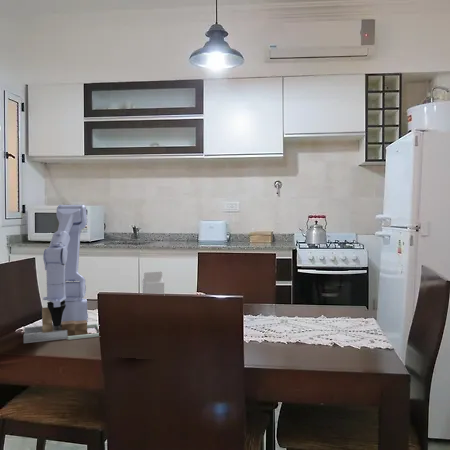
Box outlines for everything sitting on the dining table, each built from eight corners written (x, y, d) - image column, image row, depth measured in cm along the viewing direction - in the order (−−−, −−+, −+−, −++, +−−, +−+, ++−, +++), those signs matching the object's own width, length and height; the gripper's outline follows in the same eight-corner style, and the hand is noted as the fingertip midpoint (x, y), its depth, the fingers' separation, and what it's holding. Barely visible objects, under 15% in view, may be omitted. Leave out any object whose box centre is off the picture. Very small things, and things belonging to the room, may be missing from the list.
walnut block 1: (74, 332, 155) (73, 320, 155) (74, 335, 151) (74, 323, 151) (61, 333, 154) (61, 321, 153) (62, 336, 150) (61, 324, 150)
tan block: (61, 331, 154) (60, 305, 154) (62, 336, 149) (61, 308, 149) (42, 333, 152) (42, 307, 152) (42, 338, 147) (42, 310, 147)
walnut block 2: (86, 331, 157) (86, 320, 156) (87, 334, 153) (87, 322, 153) (74, 332, 155) (73, 321, 155) (74, 336, 151) (74, 324, 151)
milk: (143, 337, 152) (142, 271, 151) (161, 335, 154) (160, 270, 153) (146, 342, 146) (145, 273, 145) (165, 340, 148) (164, 272, 147)
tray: (98, 328, 163) (98, 323, 162) (103, 338, 150) (102, 333, 150) (65, 331, 158) (65, 326, 158) (67, 342, 146) (67, 337, 146)
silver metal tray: (65, 332, 157) (65, 323, 157) (67, 340, 148) (67, 330, 148) (24, 336, 152) (24, 327, 152) (23, 345, 143) (23, 335, 143)
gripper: (42, 280, 156) (43, 320, 156) (43, 288, 142) (43, 331, 143) (64, 279, 158) (65, 318, 159) (66, 286, 145) (67, 328, 145)
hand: (56, 324), depth 151 cm, fingers closed on tan block, 3 cm apart
